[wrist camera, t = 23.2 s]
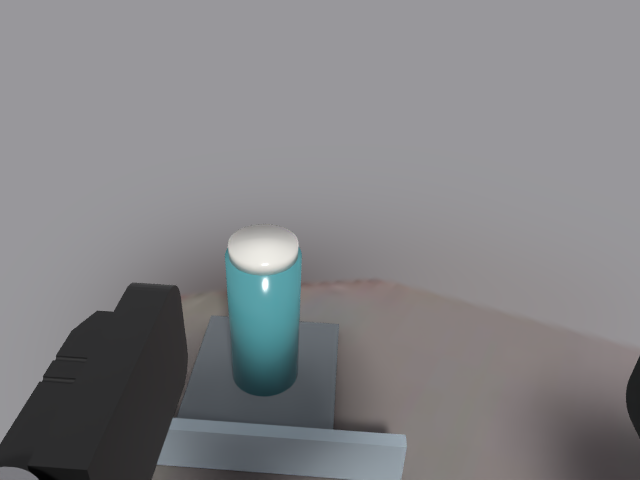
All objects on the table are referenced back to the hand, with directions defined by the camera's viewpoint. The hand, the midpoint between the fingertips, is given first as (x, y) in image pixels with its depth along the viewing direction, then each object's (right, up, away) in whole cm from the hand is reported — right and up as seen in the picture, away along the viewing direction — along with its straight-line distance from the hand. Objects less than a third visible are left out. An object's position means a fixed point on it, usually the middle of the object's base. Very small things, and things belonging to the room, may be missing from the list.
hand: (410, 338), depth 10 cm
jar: (-6, -9, +39) cm, 40 cm away
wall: (-5, -15, +32) cm, 36 cm away
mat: (-6, -10, +39) cm, 41 cm away
